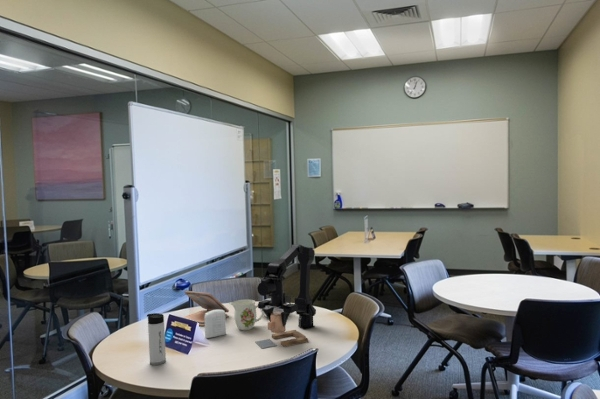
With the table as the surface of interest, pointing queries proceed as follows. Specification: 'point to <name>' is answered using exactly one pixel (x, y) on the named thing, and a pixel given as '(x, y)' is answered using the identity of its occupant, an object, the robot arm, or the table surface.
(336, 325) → the table surface
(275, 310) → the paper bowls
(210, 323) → the white tombstone
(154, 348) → the travel mug
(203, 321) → the case
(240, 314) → the pitcher
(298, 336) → the brown u-shaped piece
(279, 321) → the peach rounded canister
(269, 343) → the mat
